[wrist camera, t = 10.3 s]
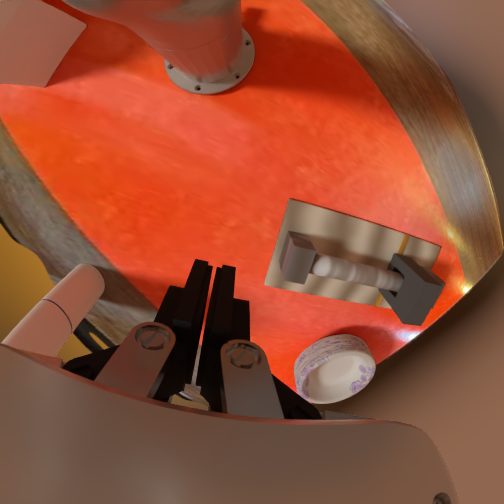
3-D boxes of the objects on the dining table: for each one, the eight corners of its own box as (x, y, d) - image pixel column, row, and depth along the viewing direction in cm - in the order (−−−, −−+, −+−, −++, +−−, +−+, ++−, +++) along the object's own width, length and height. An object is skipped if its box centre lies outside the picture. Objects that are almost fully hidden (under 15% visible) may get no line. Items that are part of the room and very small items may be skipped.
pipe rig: (264, 282, 44) (266, 306, 37) (289, 198, 38) (297, 209, 32) (408, 308, 47) (424, 329, 40) (437, 245, 42) (459, 260, 35)
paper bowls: (359, 369, 53) (369, 395, 46) (292, 381, 54) (297, 410, 46) (368, 316, 47) (383, 343, 40) (289, 329, 48) (295, 360, 40)
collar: (377, 289, 43) (403, 323, 34) (393, 253, 40) (425, 282, 31) (394, 293, 43) (421, 325, 34) (410, 258, 41) (442, 286, 32)
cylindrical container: (108, 274, 43) (29, 373, 20) (101, 303, 45) (36, 400, 22) (76, 256, 42) (-11, 340, 18) (72, 286, 44) (-2, 371, 21)
